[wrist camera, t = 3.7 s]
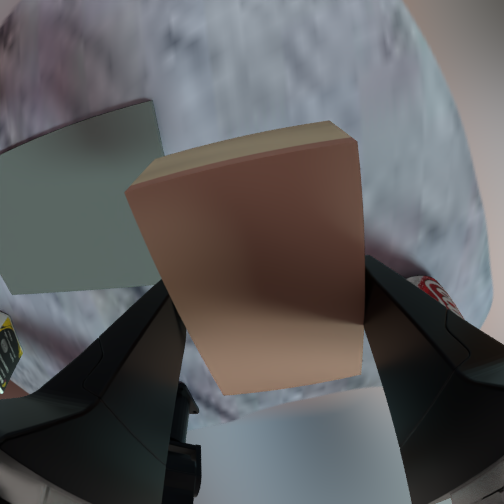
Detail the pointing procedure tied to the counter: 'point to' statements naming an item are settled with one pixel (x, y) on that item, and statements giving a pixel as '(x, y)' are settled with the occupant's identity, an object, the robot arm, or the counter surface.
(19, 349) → the medicine bottle
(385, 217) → the counter surface
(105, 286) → the rubber mat
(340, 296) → the maple tile
